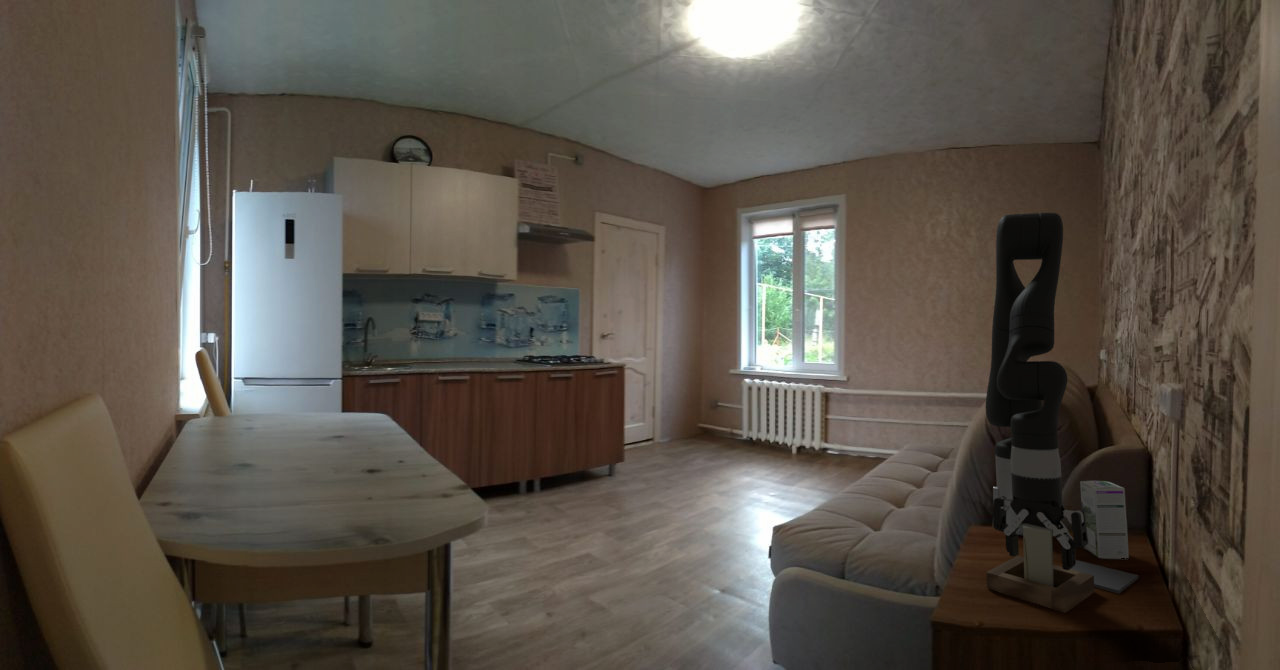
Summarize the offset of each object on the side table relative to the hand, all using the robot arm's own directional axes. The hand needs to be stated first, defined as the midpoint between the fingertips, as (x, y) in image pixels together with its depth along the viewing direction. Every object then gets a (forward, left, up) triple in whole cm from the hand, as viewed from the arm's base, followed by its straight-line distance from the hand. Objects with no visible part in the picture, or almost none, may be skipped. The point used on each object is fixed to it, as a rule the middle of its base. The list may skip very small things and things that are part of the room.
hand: (1039, 561), depth 106 cm
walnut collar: (0, 0, -5) cm, 5 cm away
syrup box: (+1, +28, -6) cm, 29 cm away
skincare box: (0, 0, -6) cm, 6 cm away
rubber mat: (+4, +14, -5) cm, 15 cm away
